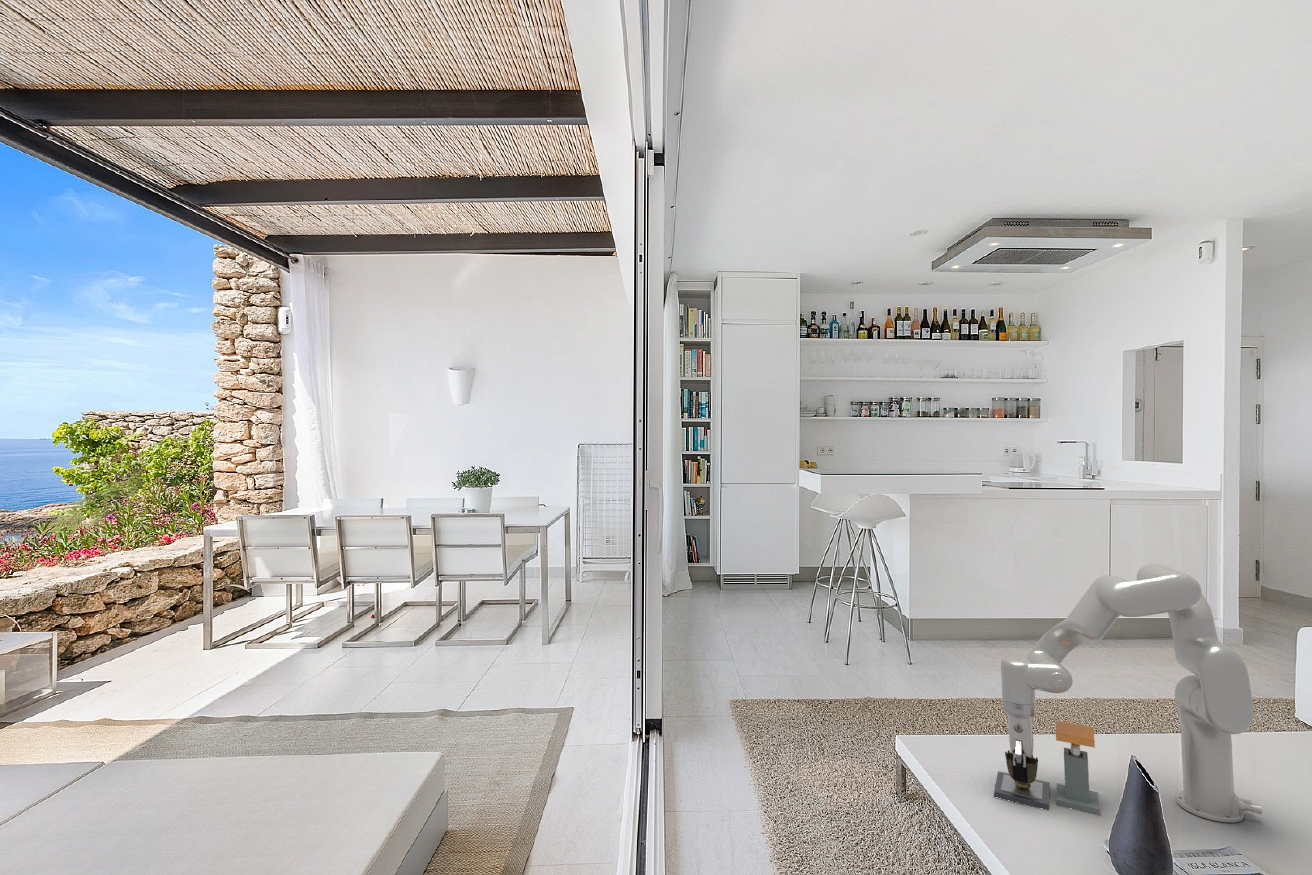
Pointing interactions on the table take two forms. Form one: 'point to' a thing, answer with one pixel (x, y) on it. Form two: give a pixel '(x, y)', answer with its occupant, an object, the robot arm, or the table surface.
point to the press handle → (1075, 736)
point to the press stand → (1077, 785)
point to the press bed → (1022, 791)
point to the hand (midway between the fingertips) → (1021, 772)
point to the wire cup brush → (1031, 769)
